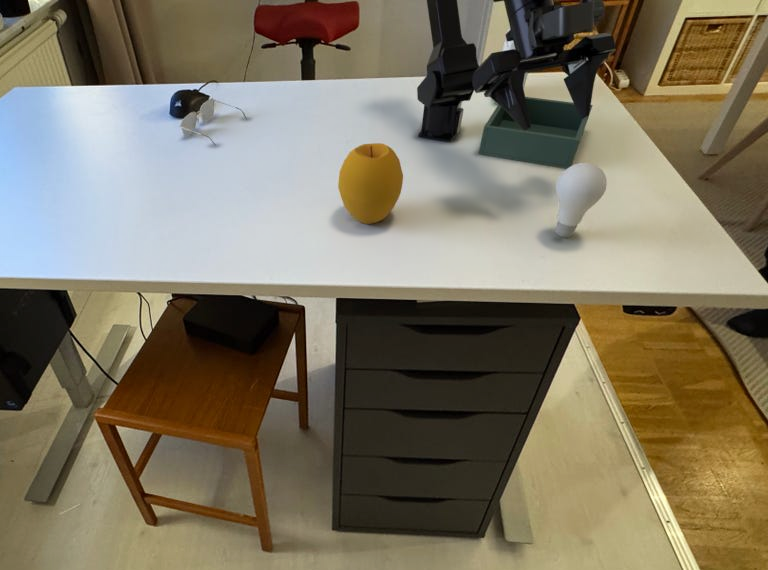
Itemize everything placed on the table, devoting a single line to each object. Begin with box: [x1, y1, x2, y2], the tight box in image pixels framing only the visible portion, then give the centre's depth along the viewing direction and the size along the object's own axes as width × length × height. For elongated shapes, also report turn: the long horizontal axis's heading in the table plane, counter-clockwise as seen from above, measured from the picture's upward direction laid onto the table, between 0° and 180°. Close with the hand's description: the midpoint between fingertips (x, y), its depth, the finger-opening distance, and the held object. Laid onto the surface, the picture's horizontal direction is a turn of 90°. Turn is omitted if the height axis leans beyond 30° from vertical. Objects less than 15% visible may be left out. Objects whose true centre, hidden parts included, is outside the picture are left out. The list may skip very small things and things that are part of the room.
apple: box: [337, 142, 404, 225], centre depth 82 cm, size 10×10×12 cm
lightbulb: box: [555, 162, 608, 238], centre depth 75 cm, size 6×6×11 cm
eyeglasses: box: [179, 98, 248, 146], centre depth 111 cm, size 14×8×4 cm, turn 155°
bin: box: [478, 96, 593, 169], centre depth 98 cm, size 16×16×5 cm
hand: (556, 123), depth 75 cm, fingers open, 9 cm apart
